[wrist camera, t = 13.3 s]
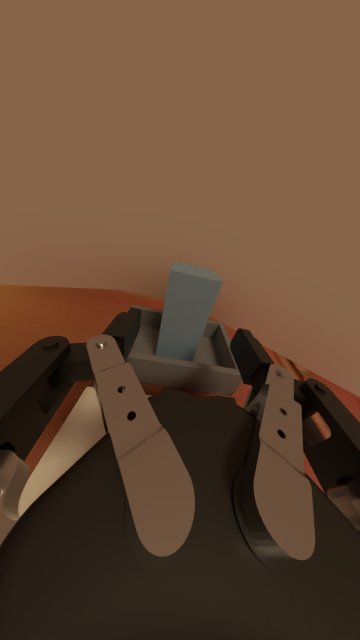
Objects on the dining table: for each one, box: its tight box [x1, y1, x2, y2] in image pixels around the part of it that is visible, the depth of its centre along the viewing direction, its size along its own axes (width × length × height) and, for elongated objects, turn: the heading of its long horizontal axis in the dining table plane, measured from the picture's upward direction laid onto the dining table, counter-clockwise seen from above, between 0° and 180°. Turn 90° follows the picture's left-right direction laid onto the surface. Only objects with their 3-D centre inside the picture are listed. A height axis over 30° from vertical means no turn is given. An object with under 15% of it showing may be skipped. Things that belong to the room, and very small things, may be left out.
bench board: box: [18, 387, 151, 517], centre depth 9 cm, size 16×12×2 cm
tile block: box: [155, 261, 222, 362], centre depth 18 cm, size 5×5×12 cm
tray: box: [126, 305, 243, 396], centre depth 21 cm, size 16×11×4 cm
